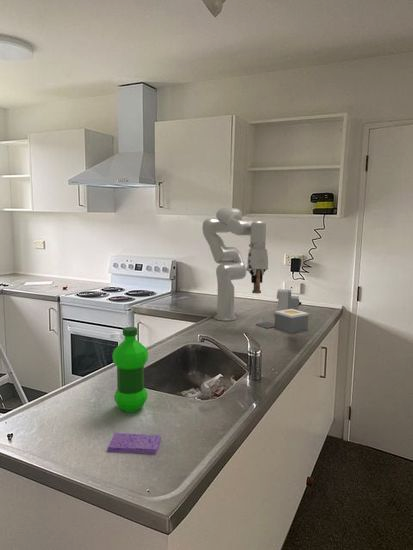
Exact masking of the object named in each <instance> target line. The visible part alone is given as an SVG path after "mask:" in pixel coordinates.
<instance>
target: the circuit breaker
mask: <svg viewBox="0 0 413 550" xmlns="http://www.w3.org/2000/svg"><path fill="white" fill-rule="evenodd" d="M299 298H300V297H299V296H298V295H297V296H296V295H292V289H281V288H279V289H277V292H276V300H277V301H278V302H277V305H276V307H275V308H276V309H275V311H281V310H287V309H295V310H298V311H299V307H300V306H302V302H301V301H300V299H299Z"/></svg>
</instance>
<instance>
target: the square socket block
mask: <svg viewBox="0 0 413 550" xmlns="http://www.w3.org/2000/svg"><path fill="white" fill-rule="evenodd" d="M289 311H293V312H297V313H295V314H289V313H286V312H289ZM274 324H275V327H274V329H277V330H279V331H282V332H285V333H289V334H296V333H299V332H300V333H301V332H305V331H308V330H309V313H308V312H306V311H302V310H299V309H298V310H295V309H287V310H281V311H276V310H275V312H274Z"/></svg>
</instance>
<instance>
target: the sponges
mask: <svg viewBox="0 0 413 550" xmlns="http://www.w3.org/2000/svg"><path fill="white" fill-rule="evenodd" d="M161 436H162V435H161V434H145V433H144V434H143V433H132V432H129V433H127V432H114V434H113V436H112V438H111V441H110V442H109V444H108V446H107V452H114V453H116V452H117V453H132V454H133V453H134V454H154V455H156V454H157V453H158V450H159V445H160V443H161Z"/></svg>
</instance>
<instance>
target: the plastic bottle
mask: <svg viewBox="0 0 413 550" xmlns="http://www.w3.org/2000/svg"><path fill="white" fill-rule="evenodd" d="M137 335H138V328H137V326H136V327H135V326H127V327H123V328H122V336H124V340H123V341H122V342H121V343H119V345H117V346H116V347H115V348H114V349H113V351H112V355H111V356H112V362H113V364H114V365H115V366H116V378H117V382H116V383H117V387H116V388H117V389H116V391H115V393H114V402H115V404H116V405H117V407H118V408H119V409H121V410H122V411H123V412H126V413H134V412H136V411H139V410H140V409H141V408H142V407H144V404H146V401H147V400H148V399H147V398H148V392H147V389H146V388H145V365H146V363H147V362H148V359H149V351H148V349H147V347H145V346H144V345H143V344H142V343H141V342H139V341H138V340H137V339H136V338H137Z"/></svg>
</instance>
